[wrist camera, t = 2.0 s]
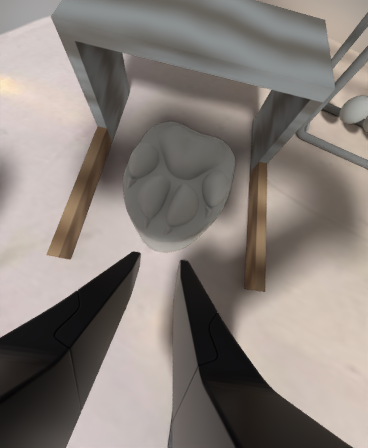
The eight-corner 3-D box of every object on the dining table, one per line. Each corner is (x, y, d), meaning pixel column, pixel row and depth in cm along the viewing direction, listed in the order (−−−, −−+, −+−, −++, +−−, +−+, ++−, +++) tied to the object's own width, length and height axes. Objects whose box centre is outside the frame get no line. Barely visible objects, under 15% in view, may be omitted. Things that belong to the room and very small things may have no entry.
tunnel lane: (253, 290, 22) (368, 306, 10) (59, 257, 20) (-91, 228, 8) (259, 123, 30) (325, 20, 18) (122, 91, 28) (92, -46, 16)
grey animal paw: (222, 181, 26) (250, 136, 18) (194, 266, 22) (214, 259, 14) (156, 155, 26) (153, 99, 18) (116, 236, 22) (88, 211, 14)
